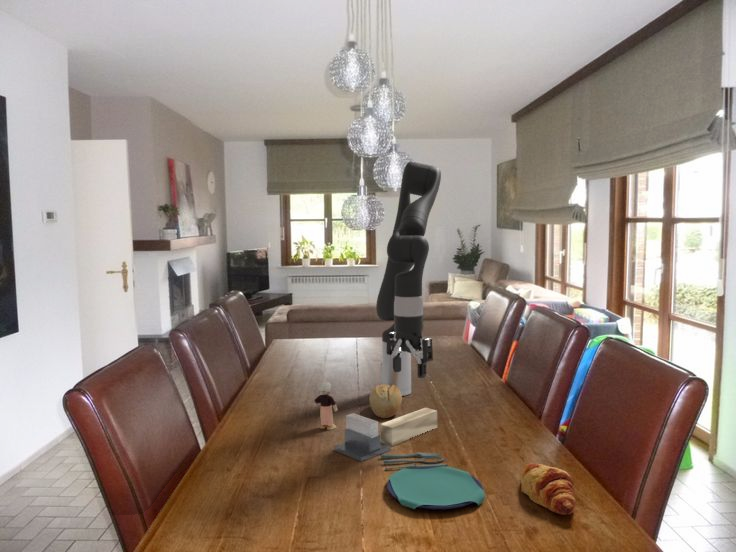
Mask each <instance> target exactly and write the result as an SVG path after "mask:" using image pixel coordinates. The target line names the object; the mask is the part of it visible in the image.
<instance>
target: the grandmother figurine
mask: <svg viewBox="0 0 736 552" xmlns="http://www.w3.org/2000/svg"><path fill="white" fill-rule="evenodd" d="M331 388H332V385H331V383H330V382H328V381H324V382H322V383H321V384H320V386H319V388H318V392H321V394H320V395H318V396H317V397H316V398H315V399H314V403H313V408H316V407H317V406H318V404H320V411H319V412H320V413H319V415H320V416H319V417H320V427H319V429H322V430H323V429H326V430H328V431H333V430H335V429H337V426H336V425H335V424H334V419H333V417H334V416H333V411H334V412H335V413H336V412H337V411H338V406H337V403H336V401H335V399H334V398H333V397H334V396H332V395H329V394H331V390H332V389H331Z"/></svg>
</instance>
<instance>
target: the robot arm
mask: <svg viewBox="0 0 736 552" xmlns="http://www.w3.org/2000/svg"><path fill="white" fill-rule="evenodd" d="M441 178H442V171H441V169H440V168H439V167H437V166H434V165H430V164H427V163H426V164H425V163H420V162H415V161H408V162H407V163H406V165H405V166H404V169H403V172H402V177H401V183H400V191H399V197H398V198H399V199H398V205H397V214H396V215H395V216H396V217H395V221H394V225H393V226H394V227H393V230H392V234H391V236H390V238H389V241H388V242H387V245H386V246H387V247H386V254H387V262H386V265H385V266H386V267H385V270H384V274H383V279H382V281H381V285H380V288H379V290H378V295H377V300H376V303H375V304H376V305H375V306H376V307H375V308H376V315H377V317H378V318H379V319H380V320H382V321H384V322H390V321H393V324H392V325H391V326H390V327H388V328H387V329H385V330H384V331H383V332H382V333H381V341H382V342H381V345H382V347H381V348H382V355H381V356H382V362H381V363H380V364H379V365H380V366H379V367H380V368H379V369H380V385H383V384H388V385H390V386H391V384H393V385H395V386H397V387H398V389H399V390H400V392H401V395H402V397H403V396H408V395H411V393H412V357H413V358H415V359H416V361H417V378H418V379H423V378H425V377H426V375H427V363H429V362H432V361H433V360H434V355H433V339H432V338H431V337H427V338H426V337H425V338H424V337H423V335H422V333H423V331H424V301H423V278H424V277H423V276H424V271H425V265H426V263H427V259H428V256H429V251H430V245H429V242H428V240H427V238H426V237H425V234H426V232H427V231H426V230H427V225H428V219H429V216H430V213H431V210H432V208H433V206H434V203H435V201H436V198H437V195H438V192H439V190H440V184H441V180H442V179H441ZM411 195H416V196H420V197H419V198H417V199H415V200H413V202H412V201H411Z"/></svg>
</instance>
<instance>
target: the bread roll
mask: <svg viewBox="0 0 736 552" xmlns="http://www.w3.org/2000/svg"><path fill="white" fill-rule="evenodd" d="M368 399H369V405H370V409H371V410H372V412H373V413H374V415H376V417H378V418H381V419H388V418H392V417H393V416H395V415H396V414H397V413H398V411H399V409H400V407H401V405H402V402H403V396H402V395H401V392H400V390H399V389H398V387H397V386H395V385H393V384H391V386H390V385H388V384H383V385H381V384H378V385H376V386H375V387H374V388H372V390H371V391H370V393H369V397H368Z"/></svg>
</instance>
